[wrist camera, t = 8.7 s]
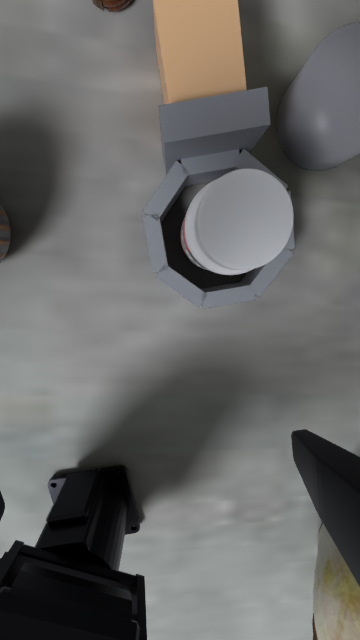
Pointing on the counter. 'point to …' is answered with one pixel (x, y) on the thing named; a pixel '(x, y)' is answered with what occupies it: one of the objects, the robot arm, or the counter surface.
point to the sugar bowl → (334, 594)
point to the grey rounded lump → (324, 104)
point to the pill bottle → (237, 222)
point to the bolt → (111, 4)
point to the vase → (4, 233)
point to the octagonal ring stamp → (205, 129)
